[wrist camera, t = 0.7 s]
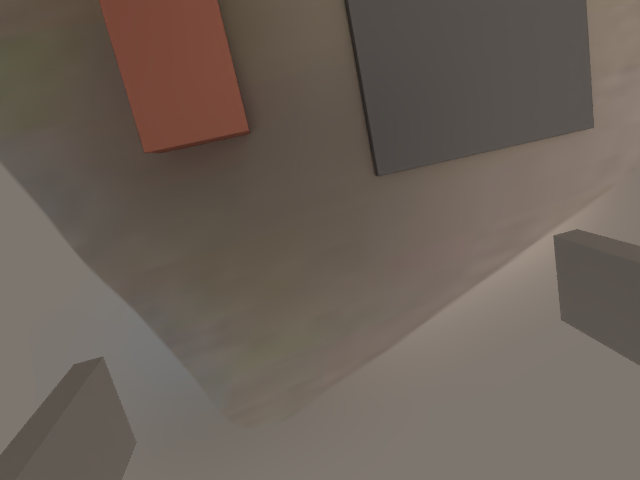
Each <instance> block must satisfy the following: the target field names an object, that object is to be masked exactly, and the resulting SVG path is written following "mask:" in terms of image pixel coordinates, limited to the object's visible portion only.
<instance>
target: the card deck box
mask: <svg viewBox="0 0 640 480" xmlns="http://www.w3.org/2000/svg"><path fill="white" fill-rule="evenodd" d="M99 3H100V6H101V9H102V13H103V16H104V19H105V23H106V26H107V29H108V33H109V36H110V39H111V43H112V46H113V49H114V52H115V56H116V59H117V62H118V66H119V69H120V72H121V76H122V79H123V82H124V86H125V89H126V92H127V96H128V99H129V102H130V106H131V109H132V112H133V116H134V119H135V122H136V125H137V129H138V132H139V135H140V139H141V142H142V145H143V149H144V152H145V153H163V152H167V151H172V150H176V149H181V148H186V147H190V146H195V145H200V144H204V143H209V142H213V141H218V140H223V139H227V138H232V137H236V136H241V135H246V134H250V131H249V127H248V123H247V119H246V115H245V111H244V107H243V103H242V99H241V94H240V90H239V86H238V82H237V78H236V74H235V70H234V66H233V62H232V58H231V54H230V49H229V45H228V41H227V37H226V33H225V29H224V25H223V21H222V17H221V13H220V9H219V4H218V0H99Z"/></svg>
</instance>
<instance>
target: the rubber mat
mask: <svg viewBox="0 0 640 480" xmlns="http://www.w3.org/2000/svg"><path fill="white" fill-rule="evenodd" d="M345 4H346V10H347V15H348V21H349V27H350V32H351V38H352V44H353V49H354V55H355V60H356V66H357V72H358V77H359V83H360V89H361V94H362V100H363V106H364V111H365V117H366V122H367V128H368V134H369V139H370V145H371V151H372V156H373V162H374V168H375V173H376V176H381V175H386V174H390V173H395V172H399V171H404V170H408V169H412V168H417V167H421V166H426V165H430V164H435V163H439V162H444V161H448V160H452V159H457V158H461V157H466V156H470V155H475V154H479V153H483V152H488V151H492V150H497V149H501V148H506V147H510V146H515V145H519V144H523V143H528V142H532V141H537V140H541V139H546V138H550V137H554V136H559V135H563V134H568V133H572V132H577V131H581V130H585V129H590V128H594V119H593V103H592V87H591V71H590V54H589V38H588V22H587V6H586V0H345Z"/></svg>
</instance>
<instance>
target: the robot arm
mask: <svg viewBox="0 0 640 480" xmlns="http://www.w3.org/2000/svg"><path fill="white" fill-rule="evenodd" d="M554 247H555V258H556V269H557V278H558V279H557V280H558V291H559V301H560V311H561V320H562V321H564V322H566V323H568V324H569V325H571V326H573V327H574V328H576V329H578V330H579V331H581V332H583V333H585V334H586V335H588V336H590V337H592V338H593V339H595V340H597V341H598V342H600V343H602V344H604V345H605V346H607V347H609V348H610V349H612V350H614V351H616V352H617V353H619V354H621V355H623V356H624V357H626V358H628V359H629V360H631V361H633V362H635V363H636V364H638V365H640V246H637V245H633V244H630V243H626V242H622V241H618V240H615V239H611V238H608V237H604V236H600V235H597V234H593V233H589V232H585V231H582V230H578V229H576V230H573V231H569V232H565V233H562V234H558V235H554ZM135 445H136V440H135V437H134V435H133V432H132V430H131V427H130V424H129V422H128V419H127V417H126V414H125V412H124V409H123V406H122V404H121V401H120V399H119V396H118V394H117V391H116V389H115V386H114V384H113V381H112V378H111V376H110V373H109V370H108V368H107V365H106V363H105V360H104V358H103V357H100V358H96V359H92V360H89V361H85V362H82V363H78V364H74V365H73V366H72V368H71V369H70V370H69V371H68V373H67V374H66V375H65V376H64V377H63V379H62V380H61V381H60V382H59V384H58V385H57V386H56V387H55V388H54V390H53V391H52V392H51V393H50V395H49V396H48V397H47V398H46V400H45V401H44V402H43V403H42V404H41V406H40V407H39V408H38V409H37V411H36V412H35V413H34V414H33V415H32V417H31V418H30V419H29V420H28V422H27V423H26V424H25V425H24V427H23V428H22V429H21V430H20V432H19V433H18V434H17V435H16V436H15V438H14V439H13V440H12V441H11V443H10V444H9V445H8V446H7V448H6V449H5V450H4V451H3V452H2V454H1V455H0V480H122V477H123V475H124V472H125V470H126V467H127V465H128V462H129V459H130V457H131V455H132V452H133V450H134V447H135Z"/></svg>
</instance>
